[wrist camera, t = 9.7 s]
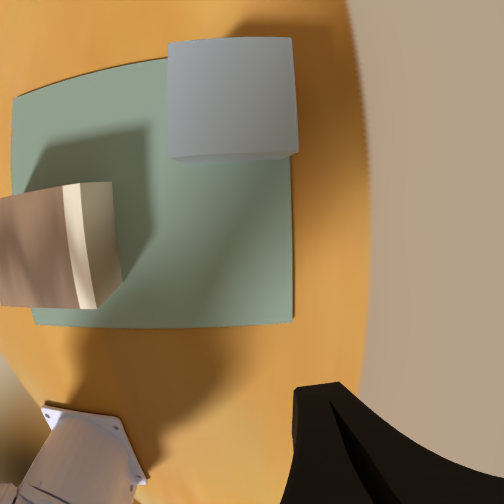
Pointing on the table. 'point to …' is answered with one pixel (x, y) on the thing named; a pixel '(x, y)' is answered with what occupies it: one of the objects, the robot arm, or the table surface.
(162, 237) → the felt mat
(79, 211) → the walnut block
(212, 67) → the gray block
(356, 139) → the table surface
